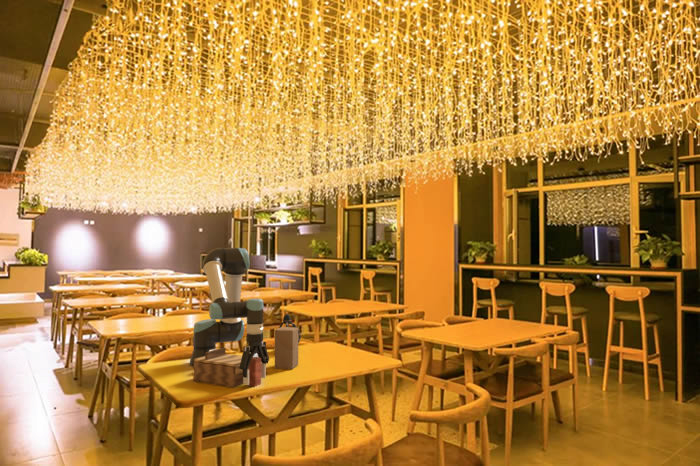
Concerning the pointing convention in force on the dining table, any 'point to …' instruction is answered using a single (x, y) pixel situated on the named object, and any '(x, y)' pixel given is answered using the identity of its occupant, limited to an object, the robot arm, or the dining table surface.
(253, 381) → the reddish-brown wooden bar
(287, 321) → the teapot
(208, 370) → the toolbox
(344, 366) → the dining table surface
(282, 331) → the wooden block
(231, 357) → the lid
